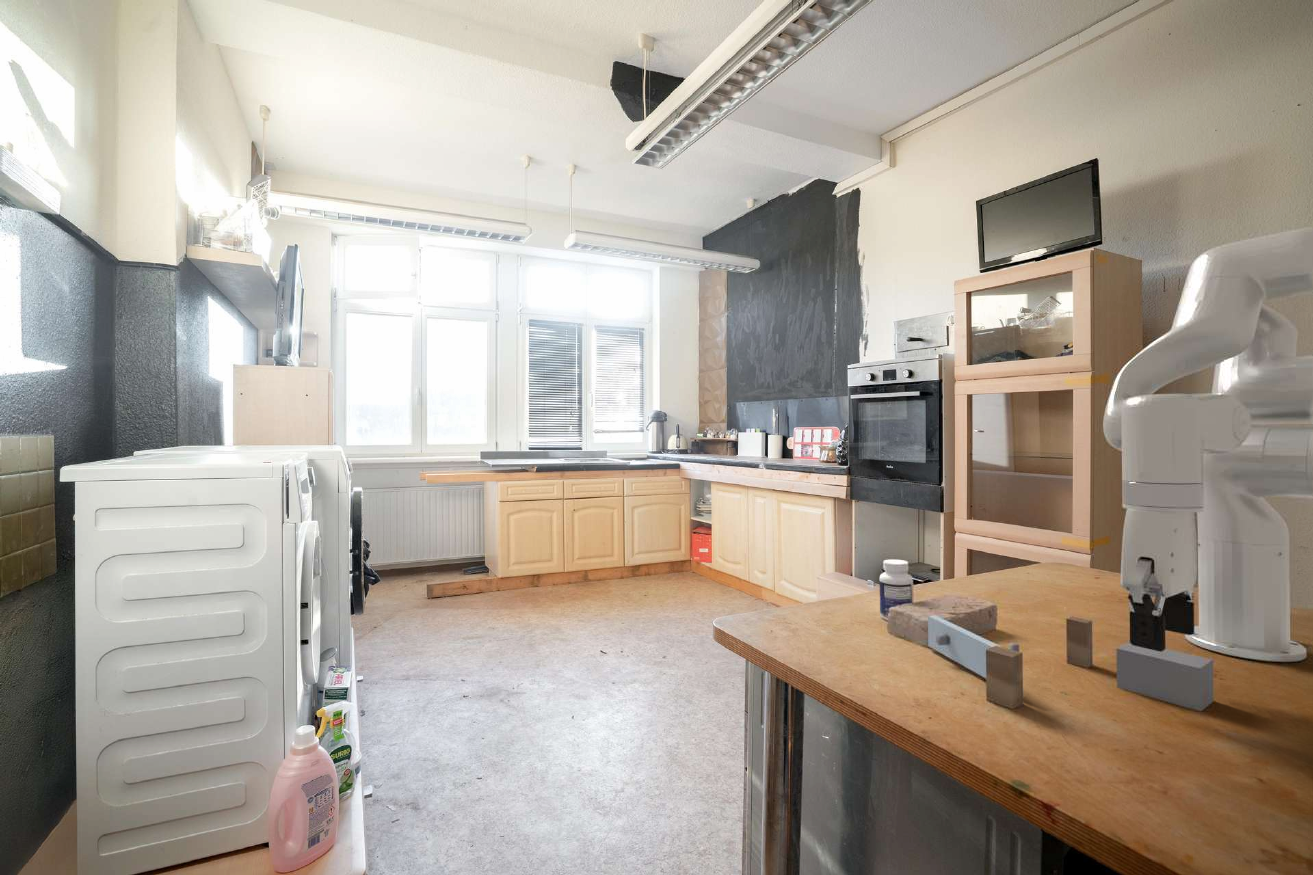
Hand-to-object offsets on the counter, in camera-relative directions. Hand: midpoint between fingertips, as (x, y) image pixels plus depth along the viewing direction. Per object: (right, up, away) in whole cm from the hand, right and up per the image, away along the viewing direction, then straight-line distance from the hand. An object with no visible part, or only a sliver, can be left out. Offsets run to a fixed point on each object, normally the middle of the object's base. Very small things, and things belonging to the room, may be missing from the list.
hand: (1162, 639), depth 73 cm
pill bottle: (-20, -7, +31) cm, 38 cm away
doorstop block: (0, -7, 0) cm, 7 cm away
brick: (-15, -7, +24) cm, 30 cm away
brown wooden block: (-20, -7, -1) cm, 21 cm away
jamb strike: (-3, -7, +10) cm, 12 cm away
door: (-20, -7, +8) cm, 22 cm away
